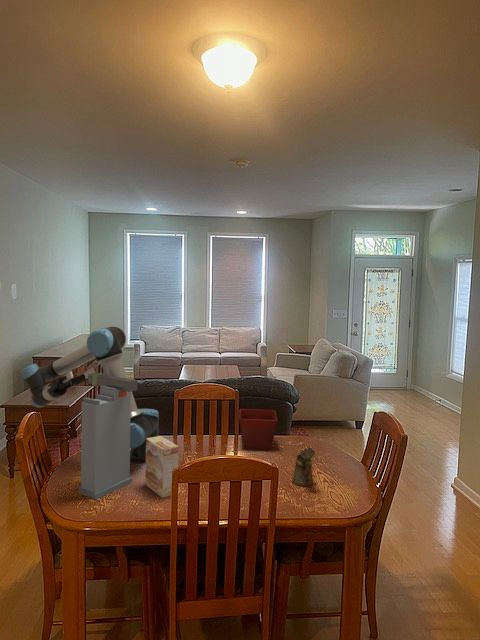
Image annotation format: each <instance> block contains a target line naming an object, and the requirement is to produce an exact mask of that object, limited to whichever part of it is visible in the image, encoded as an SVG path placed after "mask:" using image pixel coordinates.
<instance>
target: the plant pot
mask: <svg viewBox="0 0 480 640" xmlns="http://www.w3.org/2000/svg"><path fill="white" fill-rule="evenodd" d="M238 418H239V421H238V422H239V429H240V435H241V436H240V437H241V440H242V446H243V447H244V450H251V451H253V450H255V451H256V450H257V451H269V450H270V449H271V446H272V444H273V440H274V437H275V434H276V430H277V425H278V417H277V412H276V410H275V409H255V408H254V409H253V408H250V409H249V408H240V409H239V417H238Z"/></svg>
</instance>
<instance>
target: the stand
mask: <svg viewBox="0 0 480 640" xmlns="http://www.w3.org/2000/svg"><path fill="white" fill-rule="evenodd" d="M130 417H131V392H128V391H123V390H118V389H115V388H110V387H105V386H100V389H99V394H96V398H89V397H86V396H85V397H83V399H82V402H81V438H80V439H81V442H80V443H81V444H80V445H81V448H80V450H81V451H80V452H81V453H80V456H81V457H80V458H81V461H80V463H81V464H80V469H81V470H80V473H81V474H80V479H81V480H80V487H78V488H77V489H78V490H77V491H78V494H80V495H83V496H86V497H88V498H90V499H94V500H98V499H100V498H103V497H104V496H107V495H109V494H111V493H113V492H115V491H117V490H119V489H122V488H124V487H126V486H127V485H131V484H132V483H133V477H131V472H130V471H131V469H130V468H131V467H130V466H131V465H130V464H131V460H130V450H131V448H130Z"/></svg>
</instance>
